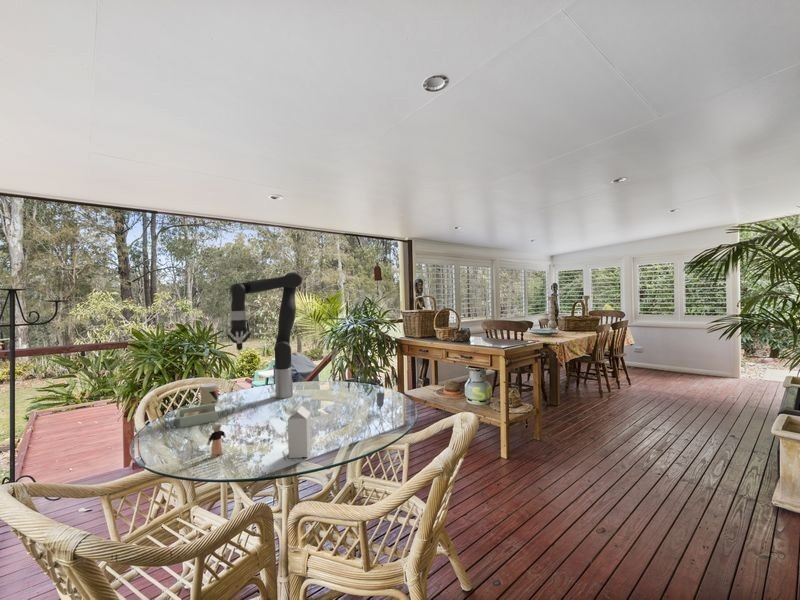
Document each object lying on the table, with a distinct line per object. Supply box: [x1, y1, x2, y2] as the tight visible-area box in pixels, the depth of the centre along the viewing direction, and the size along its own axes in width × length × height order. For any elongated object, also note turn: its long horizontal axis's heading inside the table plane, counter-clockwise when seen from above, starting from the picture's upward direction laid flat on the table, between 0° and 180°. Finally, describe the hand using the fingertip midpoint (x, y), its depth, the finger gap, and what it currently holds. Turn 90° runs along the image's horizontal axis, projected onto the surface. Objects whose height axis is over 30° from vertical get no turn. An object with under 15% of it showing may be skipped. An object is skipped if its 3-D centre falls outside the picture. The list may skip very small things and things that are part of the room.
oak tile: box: [184, 411, 199, 417], centre depth 176 cm, size 6×6×3 cm
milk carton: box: [287, 402, 312, 459], centre depth 136 cm, size 7×7×19 cm
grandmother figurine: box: [206, 421, 227, 459], centre depth 137 cm, size 8×4×13 cm, turn 164°
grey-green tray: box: [176, 403, 219, 429], centre depth 176 cm, size 17×15×4 cm
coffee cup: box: [199, 382, 220, 407], centre depth 197 cm, size 9×9×12 cm
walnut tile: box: [198, 408, 212, 414], centre depth 181 cm, size 6×6×3 cm
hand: (239, 349), depth 197 cm, fingers closed
